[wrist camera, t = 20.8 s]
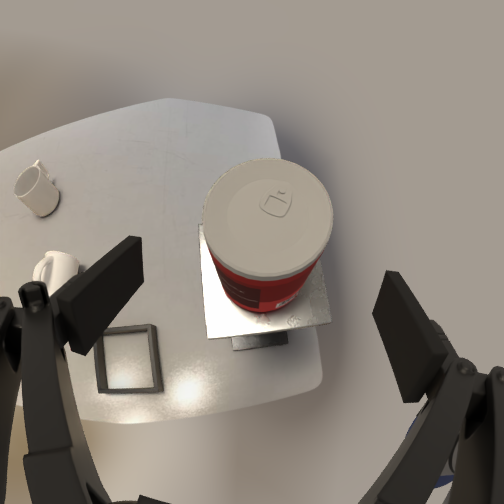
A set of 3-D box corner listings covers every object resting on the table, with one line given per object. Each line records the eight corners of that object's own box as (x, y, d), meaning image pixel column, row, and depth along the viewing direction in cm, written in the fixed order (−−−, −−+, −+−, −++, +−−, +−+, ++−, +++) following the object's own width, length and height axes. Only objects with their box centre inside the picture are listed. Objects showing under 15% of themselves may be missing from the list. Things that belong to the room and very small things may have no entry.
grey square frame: (155, 326, 55) (150, 323, 52) (163, 390, 50) (158, 392, 47) (99, 331, 54) (92, 329, 51) (104, 392, 49) (98, 393, 47)
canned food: (310, 239, 29) (339, 169, 18) (296, 322, 26) (326, 291, 15) (231, 223, 29) (221, 147, 19) (210, 304, 26) (183, 261, 16)
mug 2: (86, 264, 59) (57, 243, 48) (78, 311, 55) (46, 297, 44) (58, 263, 59) (28, 243, 48) (50, 306, 56) (17, 292, 44)
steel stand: (290, 345, 54) (332, 322, 26) (230, 353, 53) (206, 339, 25) (282, 288, 58) (309, 211, 30) (224, 295, 57) (198, 223, 29)
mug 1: (57, 215, 64) (34, 193, 54) (33, 220, 64) (9, 200, 53) (66, 176, 68) (47, 152, 58) (42, 183, 68) (22, 160, 58)
